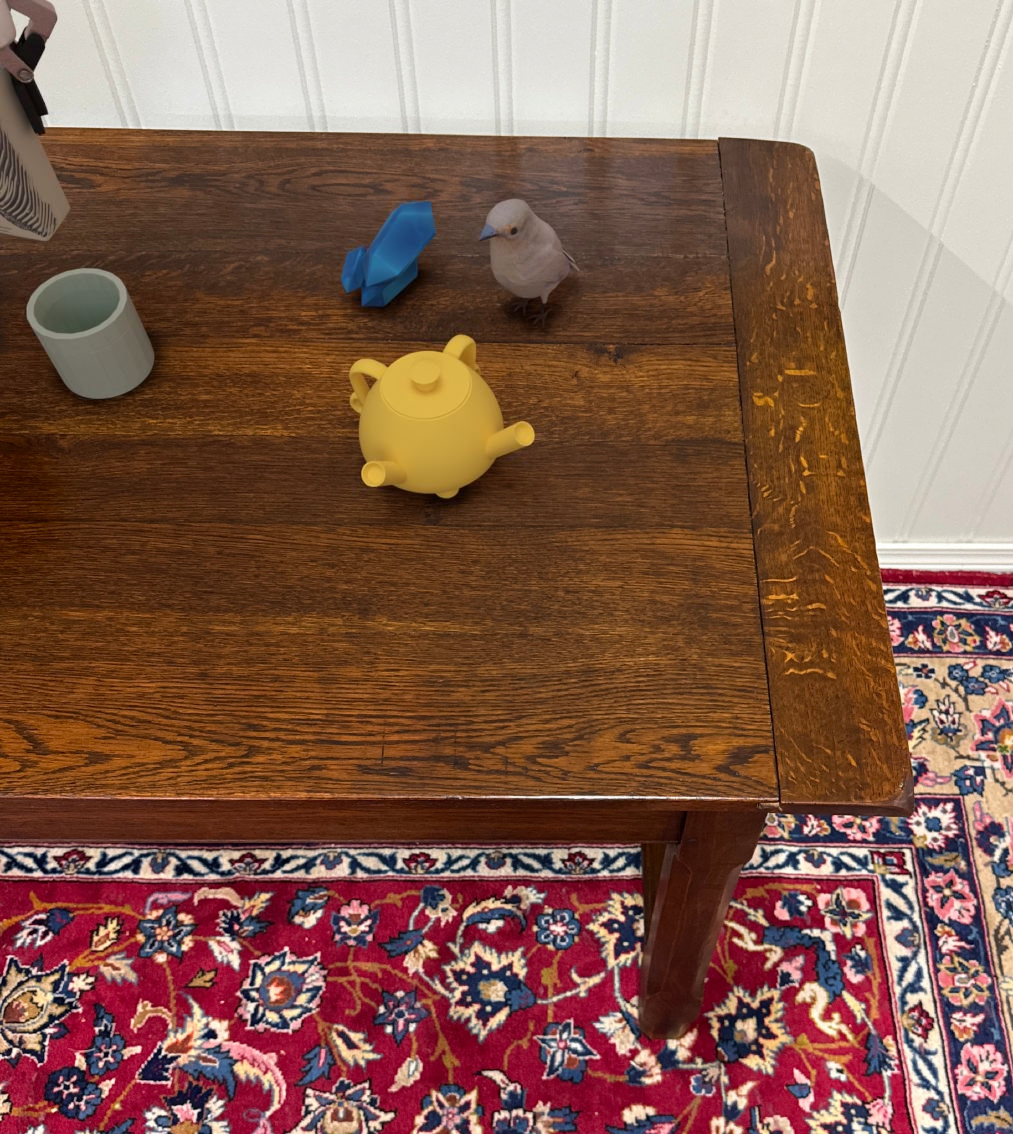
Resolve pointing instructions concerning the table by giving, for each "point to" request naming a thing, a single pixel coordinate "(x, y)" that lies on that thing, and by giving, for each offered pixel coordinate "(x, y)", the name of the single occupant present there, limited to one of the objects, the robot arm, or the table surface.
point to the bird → (525, 253)
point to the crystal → (390, 255)
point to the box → (25, 174)
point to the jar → (91, 332)
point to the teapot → (430, 420)
